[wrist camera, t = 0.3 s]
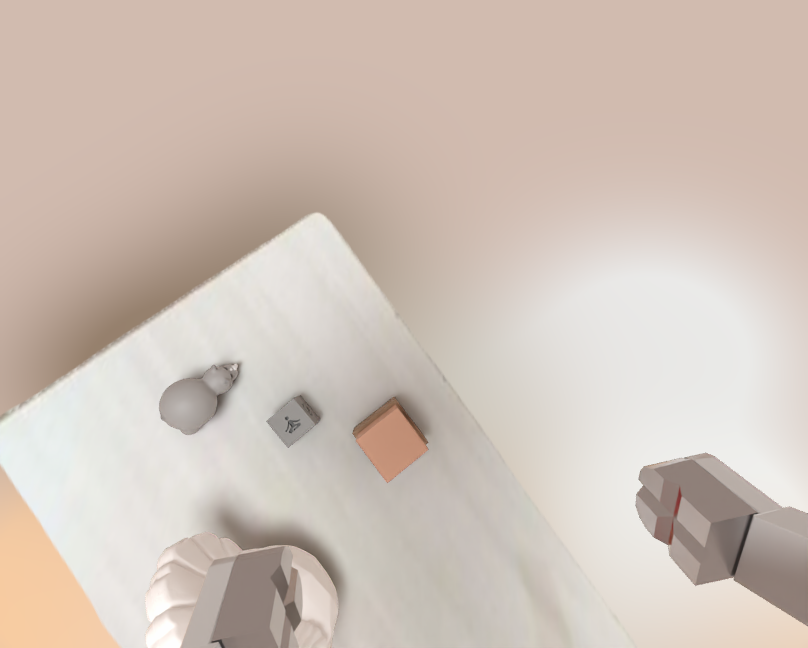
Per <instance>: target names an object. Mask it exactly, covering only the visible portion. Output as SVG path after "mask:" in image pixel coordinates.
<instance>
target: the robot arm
mask: <svg viewBox="0 0 808 648" xmlns="http://www.w3.org/2000/svg"><path fill="white" fill-rule="evenodd" d="M639 481H640V482H641V483H642V484H643V487H642V488H641V489H640V491H639V492H638V493H637V494H636V508H637V511H638V514H639V517H640V519H641V521H642V522H643V524H644V526H645V527H646V529H647V530H648V531H649V532H650V533H651V535H652V536H653V537H654V538H656V539H658V540H660V541H661V542H663V543H665V544H667V545H668V549H669V556H670V557H671V558H672V559H673V560H674V561H675V563H676V564H677V565H678V566H679V568H680V569H681V570H682V571H683V572H684V573H685V574H686V575H687V577H688V578H689V579H690V580H691V581H692V582H693V584H694V585H695V586H696V585H700V584H705V583H709V582H714V581H719V580H723V579H728V578H733V577H734V581H736V582H738V583H740V584H741V585H742V586H744V587H746V588H747V589H749V590H750V591H752V592H754V593H755V594H757V595H758V596H760V597H762V598H763V599H765V600H766V601H768V602H770V603H771V604H773V605H775V606H776V607H778V608H779V609H781V610H782V611H784V612H786V613H787V614H789V615H791V616H792V617H794V618H796V619H797V620H798V621H800V622H802V623H803V624H805V625H807V626H808V513H805V512H803V511H800V510H797V509H795V508H792V507H785V508H782V507H781V506H780V505H778V504H777V503H776V502H774V501H773V500H772V499H771V498H769V497H768V496H767V495H765V494H764V493H763V492H761V491H760V490H758V489H757V488H756V487H754V486H753V485H752V484H751V483H749V482H748V481H746V480H745V479H744V478H743V477H741V476H740V475H739V474H737V473H736V472H735V471H733V470H732V469H731V468H729V467H728V466H727V465H725V464H724V463H723V462H721V461H720V460H719V459H717V458H716V457H715V456H713V455H710V454H708V453H703V454H698V455H694V456H689V457H685V458H679V459H674V460H670V461H666V462H661V463H657V464H653V465H648V466H644V467H643V468H642V469H641V471H640V474H639ZM292 559H293V555H292V552H291V550H290V547H289V546H282V547H276V548H271V549H266V550H260V551H255V552H250V553H245V554H239V555H235V556H230V557H225V558H220V559H216V560H214V561H213V563H212V564H211V565H210V567H209V568H208V571H207V573H206V576H205V579H204V582H203V585H202V588H201V590H200V593H199V596H198V599H197V602H196V605H195V607H194V610H193V613H192V616H191V619H190V621H189V624H188V627H187V630H186V633H185V636H184V638H183V641H182V644H181V647H180V648H299V644H298V641H297V639H296V636H295V633H294V631H295V630H296V628H297V627H298V625H299V624H300V622H301V620H302V608H303V595H302V584H301V578H300V575H299V572H298V570H297V569H295V568H293V567H292Z"/></svg>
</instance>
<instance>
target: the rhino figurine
mask: <svg viewBox="0 0 808 648" xmlns="http://www.w3.org/2000/svg"><path fill="white" fill-rule="evenodd" d="M237 368H238V365H237V364H234V365H232V364H227V365H224V366H221V367H215V365H213V366H212V367H211V368H210V369H208V370H207V371H206V372H205V374H204V376H203V378H201V379H194V378H188V379H183V380H179V381H177V382H175V383H173V384H172V385H170V386H169V387H168V388H167V389H166V390H165V392H164V393H163V395H162V397H161V399H160V403H159V411H160V414H161V419H162V420H163V421H165V422H166V423H167V424H168V425H170V426H171V427H173V428H176V429H180V430H181V432H182V433H183V434H186V435H192V434H194V433H196V432H197V431H198V430H199V428H200V426H202V425H204V424H205V423H206V422H208V421H209V420H210V419H211V417H213V416H214V414H215V412H216V408H217V395H219V394H223V393H225V392H227V391H228V390H229V389H230V388H231V386H232V383H233V380H235V379H236V377H237V375H238V370H237Z"/></svg>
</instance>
